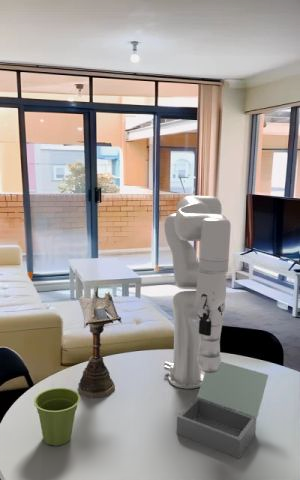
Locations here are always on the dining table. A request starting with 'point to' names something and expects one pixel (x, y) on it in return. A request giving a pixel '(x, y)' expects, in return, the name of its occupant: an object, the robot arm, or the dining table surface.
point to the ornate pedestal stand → (97, 344)
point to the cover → (234, 388)
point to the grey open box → (215, 436)
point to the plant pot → (57, 414)
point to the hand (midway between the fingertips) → (210, 329)
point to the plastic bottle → (211, 345)
